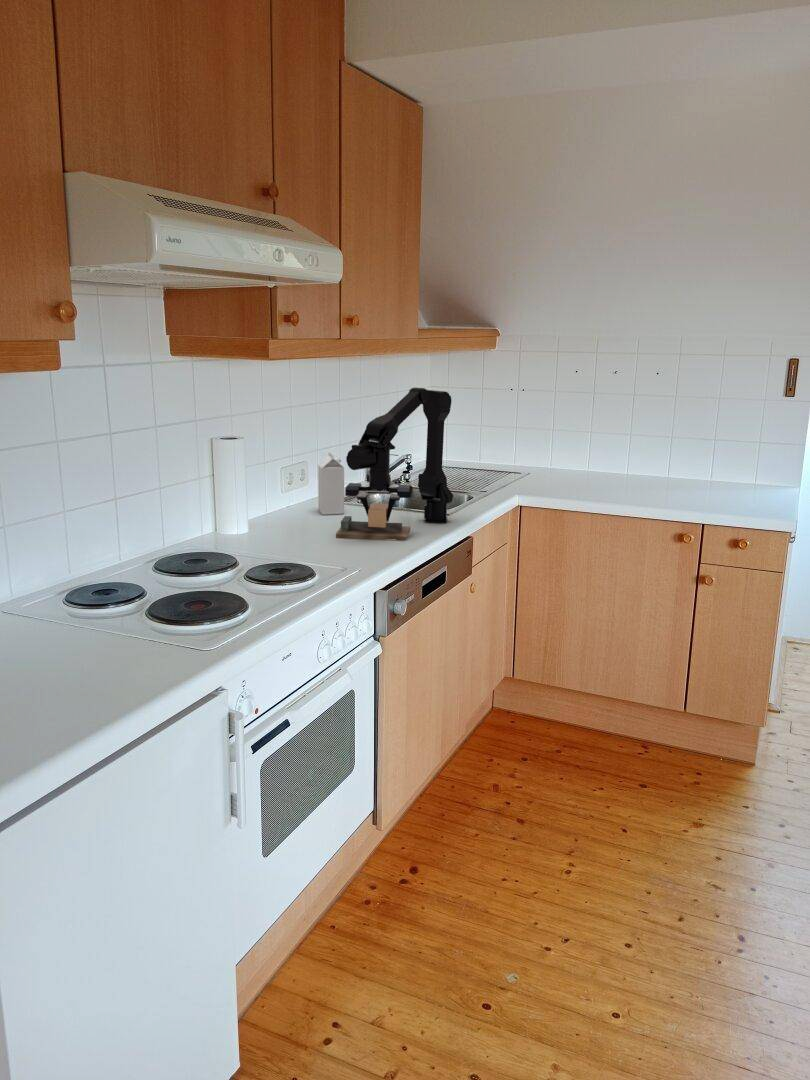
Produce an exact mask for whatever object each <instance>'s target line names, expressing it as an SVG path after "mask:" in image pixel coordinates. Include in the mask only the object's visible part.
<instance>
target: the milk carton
mask: <svg viewBox="0 0 810 1080" xmlns="http://www.w3.org/2000/svg"><path fill="white" fill-rule="evenodd" d="M341 462H342V459H340V458H339V457H338V456H336V457H334V454H333V453H332V452H330V451H328V455H327V456H326V457H325V458H324V459H322V460H321V461H320V462H319V463H318V465H317V472H318V473H317V474H318V475H317V479H318V480H317V483H318V484H317V487H318V489H317V493H318V497H317V498H318V499H317V500H318V502H317V503H318V504H317V505H318V511H319V513H320V514H321V515H323V516H324V515H342V514H344V515H345V467H344V466H343V465H342V464H341Z"/></svg>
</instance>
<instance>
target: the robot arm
mask: <svg viewBox="0 0 810 1080" xmlns="http://www.w3.org/2000/svg"><path fill="white" fill-rule="evenodd" d="M421 405H422V411H423V414H424V416H425V418H426V420H427V430H426V432H427V433H426V449H425V450H426V454H425V467H424V468H425V469H424V470H423V471H422V473H419V474H418V476H417V477H418V478H417V479H418V482H417V488H418V492H419V494H420V496H421V500H422V501H426V503H425V504H424V506H423V508H424V509H423V512H424V513H423V516H424V517H423V519H424V520H425V521H424V522H425V523H441V522H445V523H447V522H448V515H447V514H448V504H450V503H452V502H453V500H454V494H453V493H452V491H451V490H450V488H448V479H447V478H448V477H447V476H446V474H445V472H444V470H443V454H444V437H445V436H444V433H445V421H446V420H447V418H448V416H449V414H450V412H451V407H452V396H451V395H450V393H449V392H448V391H444V390H443V391H442V390H432V389H431V390H430V389H426V388H425V387H424V388H423V387H412V388H410V389H409V390H408V393H406V395H404V396H403V397H402V399H400V400H399V401H398V402H397V403H396V404H395V405H394V406H393V407H391V409H390V410H389V411H387V413H385V414H383V415H379V416H377V417H375V418H374V419H372V420H371V421H369V422H368V423H367V424H366V428H365V430H364V432H363V434H362V435H361V438H360V440H359V442H358V444H352V445H351V449H350V450H349V451H348V453H346V454H347V455H346V456H345V457H346V458H345V459H346V460H345V461H346V464H347V466H348V468H349V469H350V470H352V471H357V470H362V469H363V470H364V469H369V470H366V482H367V483H369V484H368V486H362V482H361V483H360V482H359V483H358V482H349V483H347V485H346V486H345V488H344V497H345V496H346V497H356V499H357V500H360V502H361V504H362V505H363V508H364V510H365V512H366V516H367V517H368V509H369V508H370V506H371V503H370V494H375V495H377V494H379V495H380V494H382V495H384V494H385V495H390V496H389V498H388V503H387V504H388V511H387V521H388V520H389V521H390V517H391V514H392V510H393V508H394V505H395V503H396V502H398V501H400V500H401V499H411V498H412V497H413V492H414V491H413V490H414V489H413V486H412V485H411V484H398V485H397V487H391V485H392V483H391V481H392V480H391V478H392V477H391V474H390V462H391V461H390V459H391V458H390V457H391V454H390V452H391V451H392V450H395V449H396V446H395V445H394V444H392V441H393V439H394V437H395V436H396V435H397V434H398V432H399V431H398V430H399V427H400V425H401V424H402V423H403V422H405V420H407V418H409V416H410V415H412V414H413V413H414V411H416V410H417V409H418V407H420V406H421ZM445 523H444V524H445Z"/></svg>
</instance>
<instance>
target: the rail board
mask: <svg viewBox="0 0 810 1080" xmlns="http://www.w3.org/2000/svg"><path fill="white" fill-rule="evenodd" d="M352 518H353V517H352V515H345V516H344V517H343V518H342V519H341V520H340V527H339V529H338V530H337V532H336V533H335V538H336V539H359V540H378V539H396V540H395V541H403V540H408V538H409V535H410V531H411V526H409V525H408V526H407V525H406V526H405V525H403V523H402V522H387V526H386V528H385V527H368V521H355V520H354V521H353V520H352ZM408 534H409V535H408ZM407 537H408V538H407Z"/></svg>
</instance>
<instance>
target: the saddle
mask: <svg viewBox="0 0 810 1080" xmlns="http://www.w3.org/2000/svg"><path fill="white" fill-rule="evenodd" d="M387 511H388V503H385V502H384V503H383V502H381V503H380V502H372V503H370V508H369V509H368V516H367V520H368V521H367V522H368V527H385V528H386V526H387V523H390V519H389V520H388V521H387Z"/></svg>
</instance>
